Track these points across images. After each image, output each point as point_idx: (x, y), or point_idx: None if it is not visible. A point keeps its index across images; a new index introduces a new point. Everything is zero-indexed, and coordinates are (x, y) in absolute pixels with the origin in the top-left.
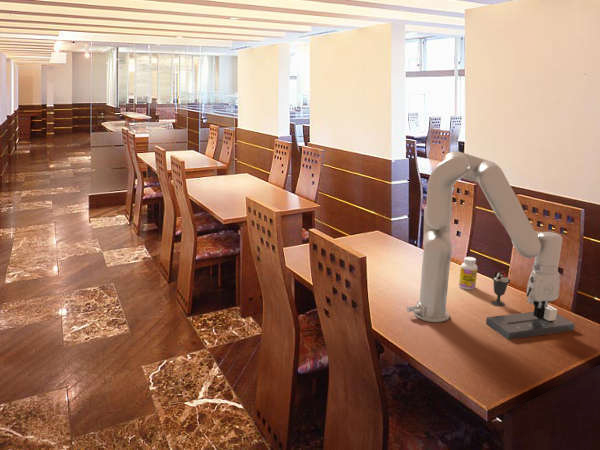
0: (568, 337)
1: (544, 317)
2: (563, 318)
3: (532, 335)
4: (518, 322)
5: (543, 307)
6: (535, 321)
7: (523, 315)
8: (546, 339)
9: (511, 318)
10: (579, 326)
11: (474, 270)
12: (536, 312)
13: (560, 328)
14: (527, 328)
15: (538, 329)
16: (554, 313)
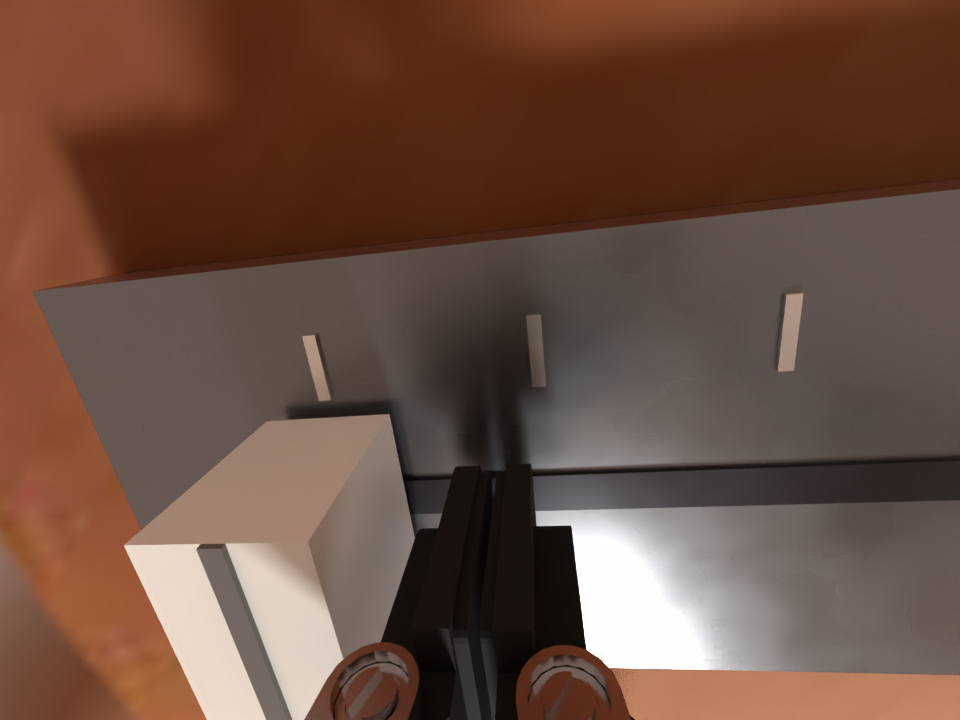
0: (281, 92)
1: (400, 500)
2: (133, 457)
3: (787, 199)
4: (891, 467)
5: (429, 660)
6: (576, 453)
7: (617, 617)
8: (643, 68)
9: (867, 587)
10: (28, 352)
11: None
12: (577, 578)
13: (293, 260)
14: (929, 256)
15: (724, 212)
16: (236, 487)
